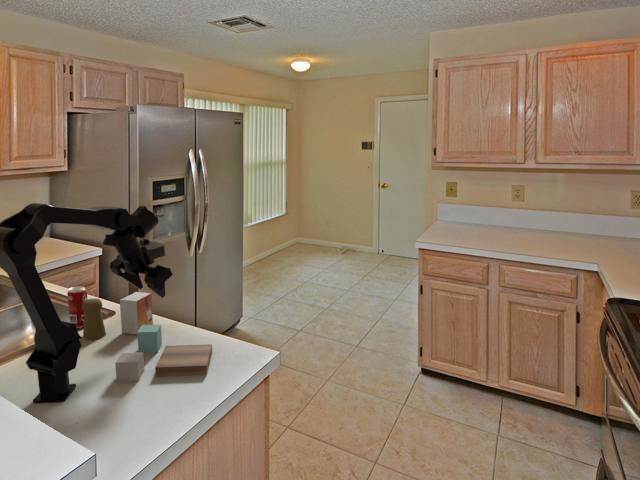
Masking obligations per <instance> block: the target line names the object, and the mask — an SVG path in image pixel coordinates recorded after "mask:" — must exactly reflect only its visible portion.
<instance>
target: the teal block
mask: <svg viewBox="0 0 640 480" xmlns="http://www.w3.org/2000/svg"><path fill="white" fill-rule="evenodd" d="M136 335H137V349H138V350H137V352H143V354H147V353H149V354H151V353H159V351H160V349H161V347H162V345H163V344H162V343H163V341H162V339H163V337H162V324H153V325H142V326H141V328H140V329H139V330H138V332H137V334H136Z"/></svg>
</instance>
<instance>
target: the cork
mask: <svg viewBox="0 0 640 480" xmlns="http://www.w3.org/2000/svg"><path fill="white" fill-rule="evenodd" d="M82 309H83V311H84V312H85V314H84V328H82V329H83V332H82V334H83V335H82V339H83V340H87V341H92V340H93V341H96V340H99V339H102V338H104V337H106V336H107V332H106V331H107V330H106V328H105V324H104V319H103V315H102V309H103V302H102V300H101V299H99V298H88V300H85V301H84V302H83V303H82Z"/></svg>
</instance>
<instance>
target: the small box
mask: <svg viewBox="0 0 640 480" xmlns="http://www.w3.org/2000/svg"><path fill="white" fill-rule="evenodd" d="M119 310H120V311H119V312H120V326H121V333H122V334H128V335H137V332H138V330H139V329H140V328H141V326H142V325H154V324H153V323H154V322H153V321H154V320H153V298H152V293H150V292H141V291H135V292H132V294H129V295H127V296H125V297H123V298H121V299H119Z"/></svg>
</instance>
